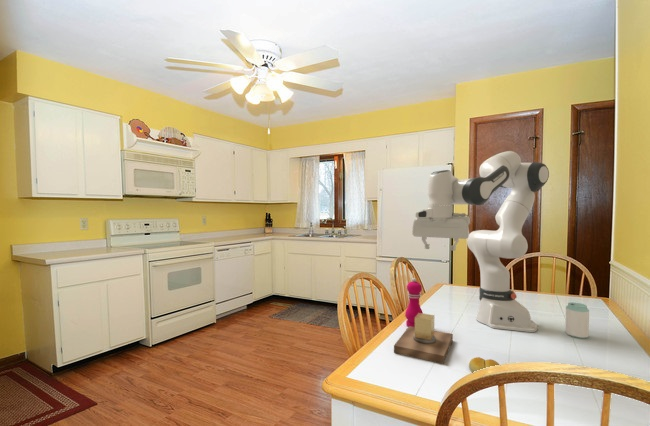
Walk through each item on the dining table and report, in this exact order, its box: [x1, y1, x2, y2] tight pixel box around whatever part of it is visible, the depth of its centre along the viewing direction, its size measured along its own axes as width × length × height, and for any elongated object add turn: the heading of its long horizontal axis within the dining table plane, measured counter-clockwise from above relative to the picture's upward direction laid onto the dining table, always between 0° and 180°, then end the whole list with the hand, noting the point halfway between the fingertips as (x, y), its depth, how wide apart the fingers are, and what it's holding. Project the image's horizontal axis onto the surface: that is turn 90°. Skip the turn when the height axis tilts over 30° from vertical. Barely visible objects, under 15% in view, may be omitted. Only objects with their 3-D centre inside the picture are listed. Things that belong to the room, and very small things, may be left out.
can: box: [564, 301, 590, 339], centre depth 124 cm, size 7×7×12 cm
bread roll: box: [468, 356, 500, 373], centre depth 97 cm, size 8×9×4 cm
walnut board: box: [393, 326, 454, 365], centre depth 114 cm, size 16×20×10 cm
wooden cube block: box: [415, 313, 435, 340], centre depth 114 cm, size 6×6×7 cm
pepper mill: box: [404, 277, 424, 328], centre depth 134 cm, size 7×7×20 cm
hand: (439, 249), depth 123 cm, fingers open, 8 cm apart
